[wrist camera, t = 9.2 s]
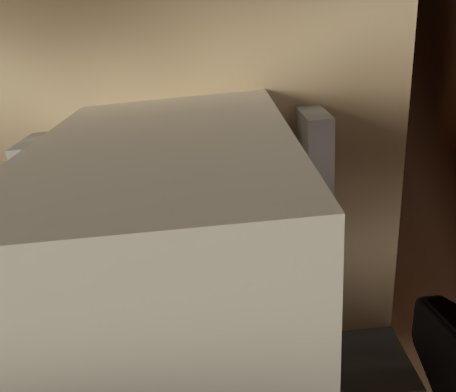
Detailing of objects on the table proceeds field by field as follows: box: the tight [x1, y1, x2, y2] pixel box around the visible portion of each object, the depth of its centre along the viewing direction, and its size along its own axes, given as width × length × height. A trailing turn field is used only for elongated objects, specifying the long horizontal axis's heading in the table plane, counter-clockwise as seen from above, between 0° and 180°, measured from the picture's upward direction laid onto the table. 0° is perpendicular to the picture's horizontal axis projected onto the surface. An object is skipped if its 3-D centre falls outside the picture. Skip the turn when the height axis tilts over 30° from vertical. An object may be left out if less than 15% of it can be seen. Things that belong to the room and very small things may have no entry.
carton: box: [0, 89, 345, 392], centre depth 9 cm, size 5×7×7 cm, turn 5°
